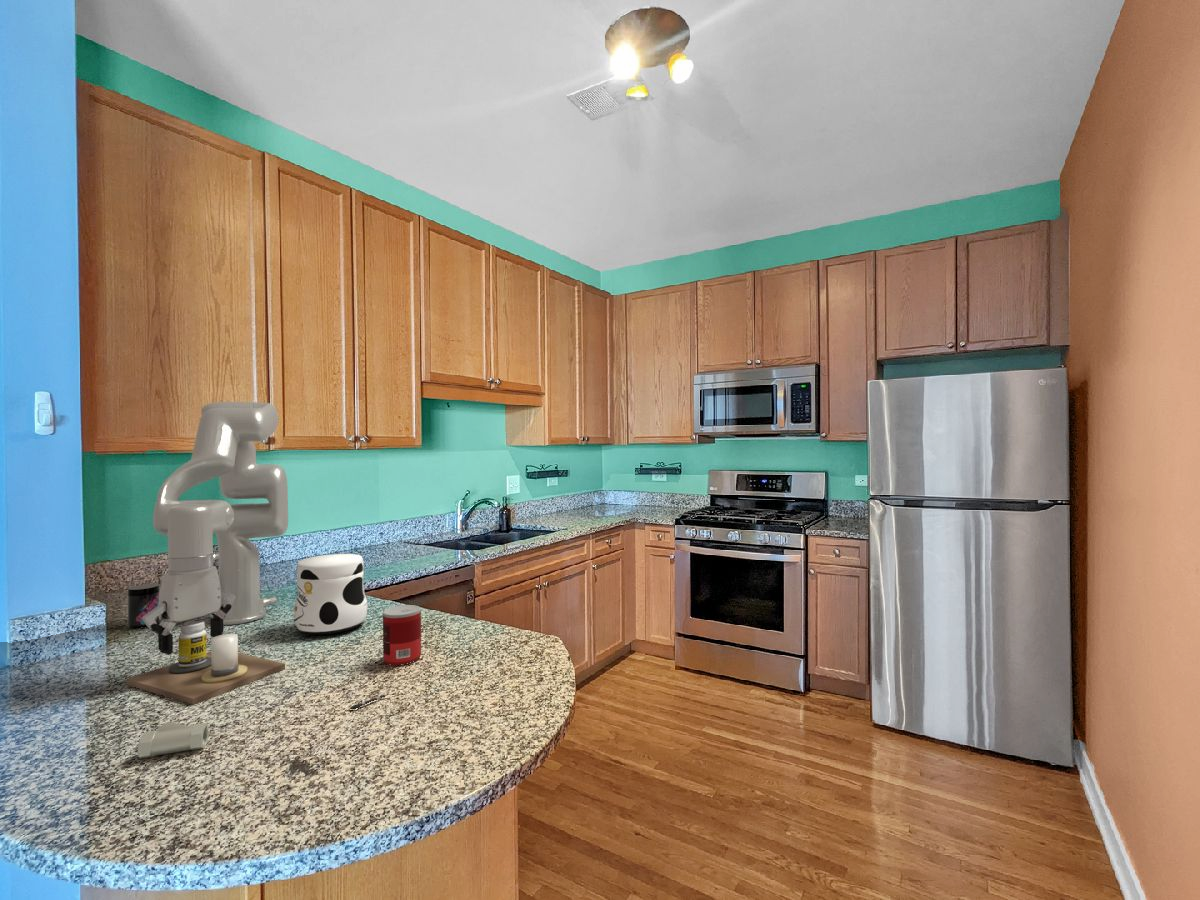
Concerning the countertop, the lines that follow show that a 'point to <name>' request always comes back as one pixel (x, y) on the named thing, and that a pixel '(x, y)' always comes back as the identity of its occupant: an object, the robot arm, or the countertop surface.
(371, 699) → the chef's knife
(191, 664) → the supplement bottle
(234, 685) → the pin board
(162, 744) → the pipe fitting
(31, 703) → the countertop surface
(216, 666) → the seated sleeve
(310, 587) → the milk container
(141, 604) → the supplement container
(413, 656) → the canned food
